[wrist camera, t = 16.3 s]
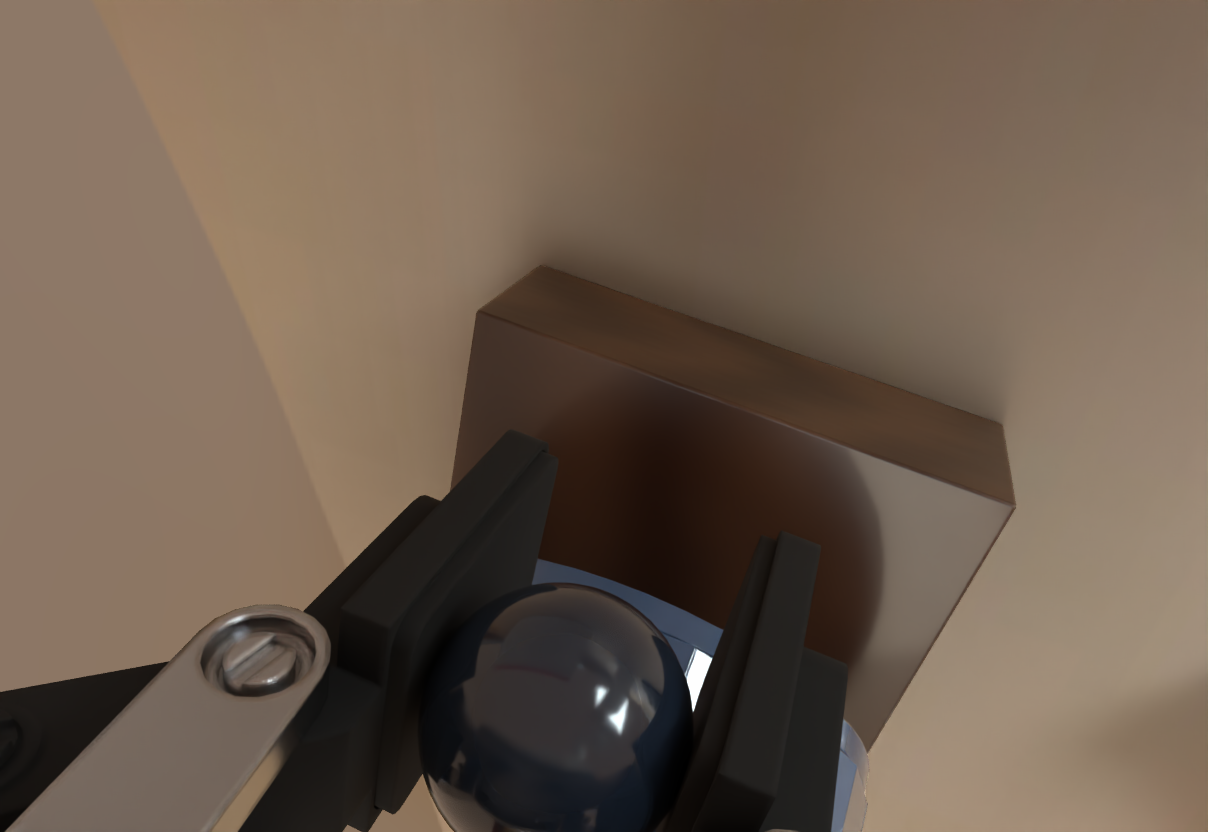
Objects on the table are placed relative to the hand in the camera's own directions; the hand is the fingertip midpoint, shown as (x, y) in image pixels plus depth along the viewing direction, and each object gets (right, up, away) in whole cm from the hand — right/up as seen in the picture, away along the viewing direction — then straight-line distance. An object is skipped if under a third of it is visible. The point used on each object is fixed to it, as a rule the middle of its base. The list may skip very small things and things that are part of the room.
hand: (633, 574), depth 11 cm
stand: (+2, -1, +14) cm, 14 cm away
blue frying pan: (0, -2, +6) cm, 7 cm away
